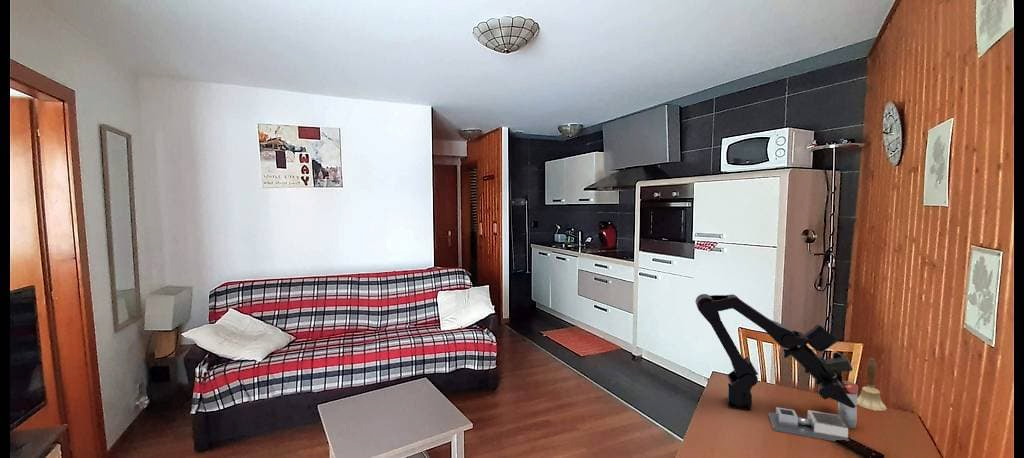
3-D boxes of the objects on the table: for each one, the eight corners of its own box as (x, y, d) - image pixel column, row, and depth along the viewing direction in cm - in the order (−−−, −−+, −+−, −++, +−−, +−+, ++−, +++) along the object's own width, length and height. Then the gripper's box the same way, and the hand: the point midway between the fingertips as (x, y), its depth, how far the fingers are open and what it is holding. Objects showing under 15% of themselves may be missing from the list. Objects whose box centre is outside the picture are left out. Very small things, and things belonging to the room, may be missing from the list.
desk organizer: (773, 430, 121) (774, 416, 121) (768, 415, 130) (768, 403, 129) (848, 443, 114) (849, 429, 114) (838, 427, 122) (838, 414, 122)
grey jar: (839, 426, 123) (841, 386, 122) (835, 418, 127) (836, 379, 127) (859, 429, 121) (860, 388, 121) (853, 421, 126) (854, 382, 125)
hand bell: (893, 412, 131) (895, 364, 130) (863, 410, 132) (865, 362, 131) (876, 400, 139) (877, 354, 138) (848, 398, 140) (849, 353, 139)
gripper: (834, 356, 118) (884, 403, 112) (831, 338, 133) (875, 379, 127) (800, 376, 123) (846, 422, 117) (801, 356, 138) (841, 397, 132)
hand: (853, 404), depth 123 cm, fingers closed on grey jar, 4 cm apart
